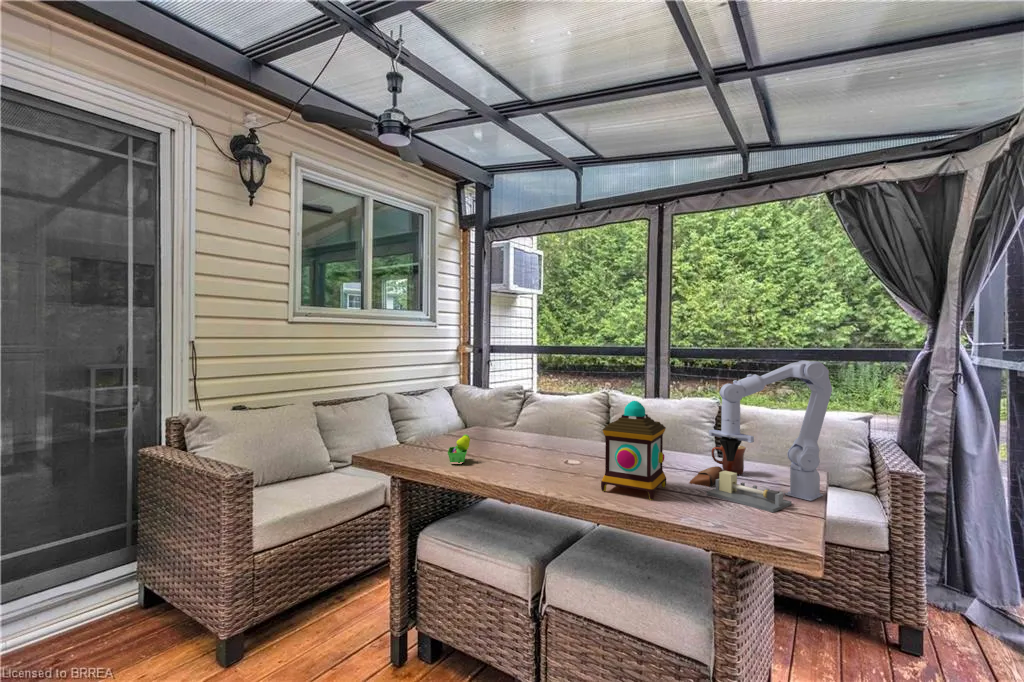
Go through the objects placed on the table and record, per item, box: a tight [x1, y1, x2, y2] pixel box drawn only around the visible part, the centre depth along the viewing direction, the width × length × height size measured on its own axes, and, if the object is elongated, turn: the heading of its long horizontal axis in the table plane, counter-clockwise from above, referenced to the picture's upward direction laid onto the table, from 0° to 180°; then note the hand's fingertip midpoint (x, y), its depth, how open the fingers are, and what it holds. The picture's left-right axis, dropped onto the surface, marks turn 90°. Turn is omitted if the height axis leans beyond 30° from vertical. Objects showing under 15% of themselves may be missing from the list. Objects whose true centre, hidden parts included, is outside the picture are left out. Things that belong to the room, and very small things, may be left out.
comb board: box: [706, 479, 792, 514], centre depth 152 cm, size 21×12×4 cm, turn 37°
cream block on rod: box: [719, 471, 738, 493], centre depth 158 cm, size 4×4×6 cm
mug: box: [711, 444, 747, 476], centre depth 184 cm, size 12×9×10 cm
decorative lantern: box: [600, 400, 667, 501], centre depth 162 cm, size 20×20×30 cm
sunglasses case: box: [688, 465, 723, 489], centre depth 174 cm, size 18×7×7 cm, turn 146°
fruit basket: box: [447, 434, 471, 463], centre depth 197 cm, size 11×9×11 cm
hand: (730, 460), depth 160 cm, fingers closed
